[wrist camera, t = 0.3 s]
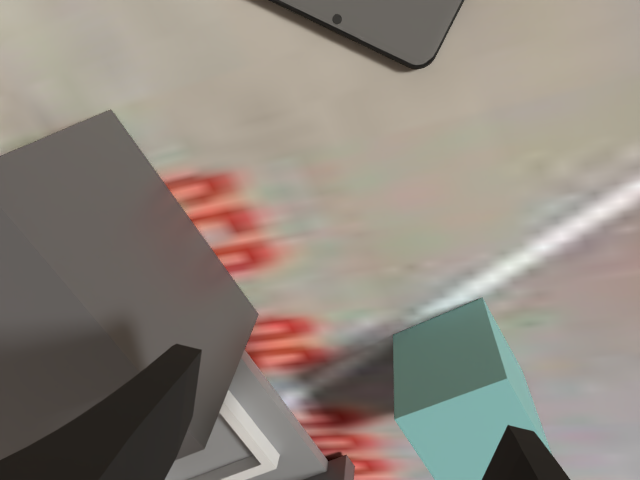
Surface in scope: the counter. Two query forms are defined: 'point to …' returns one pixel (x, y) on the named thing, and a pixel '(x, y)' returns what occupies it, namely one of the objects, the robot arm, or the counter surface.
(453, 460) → the block
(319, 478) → the tray
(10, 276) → the dark grey cuboid box
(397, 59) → the smartphone
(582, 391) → the counter surface
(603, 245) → the counter surface
